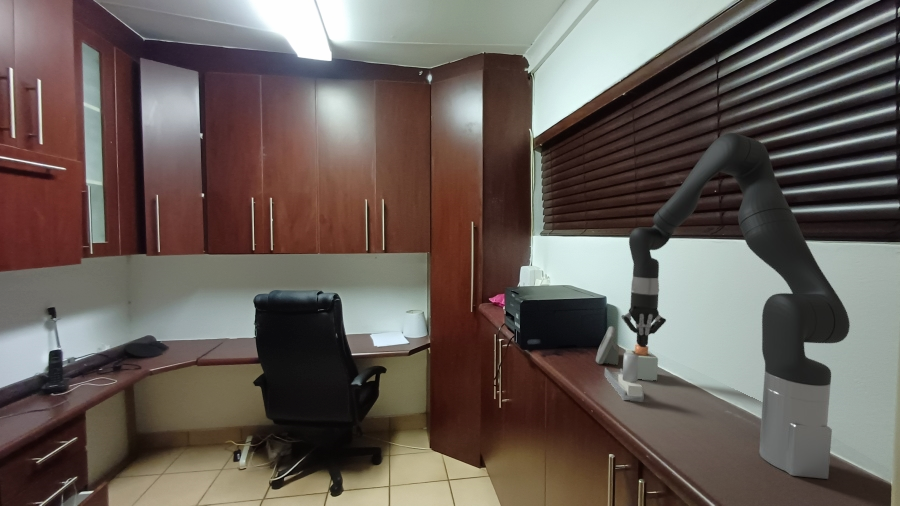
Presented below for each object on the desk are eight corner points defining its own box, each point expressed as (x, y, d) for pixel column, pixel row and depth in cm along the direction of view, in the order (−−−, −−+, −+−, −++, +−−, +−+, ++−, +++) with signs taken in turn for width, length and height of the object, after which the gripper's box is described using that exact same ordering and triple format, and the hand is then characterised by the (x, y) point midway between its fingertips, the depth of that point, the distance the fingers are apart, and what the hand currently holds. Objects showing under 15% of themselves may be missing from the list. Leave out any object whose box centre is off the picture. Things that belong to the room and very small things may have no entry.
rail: (643, 401, 96) (643, 391, 96) (623, 400, 97) (623, 390, 97) (621, 377, 113) (621, 368, 113) (604, 376, 114) (604, 367, 114)
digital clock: (599, 351, 139) (600, 323, 138) (625, 356, 133) (626, 327, 133) (586, 362, 126) (587, 332, 125) (614, 369, 120) (616, 337, 120)
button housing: (656, 380, 111) (658, 358, 111) (632, 379, 112) (633, 356, 112) (647, 372, 118) (648, 350, 118) (624, 370, 119) (625, 349, 118)
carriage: (642, 396, 95) (643, 360, 95) (627, 395, 96) (629, 359, 95) (630, 384, 103) (632, 350, 103) (617, 383, 104) (619, 349, 103)
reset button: (649, 357, 113) (650, 348, 112) (637, 357, 113) (637, 347, 113) (645, 354, 116) (645, 344, 116) (633, 353, 117) (633, 344, 116)
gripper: (661, 290, 116) (659, 343, 117) (618, 288, 118) (616, 341, 119) (673, 294, 109) (669, 351, 110) (626, 292, 111) (623, 348, 112)
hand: (641, 346), depth 114 cm, fingers closed
